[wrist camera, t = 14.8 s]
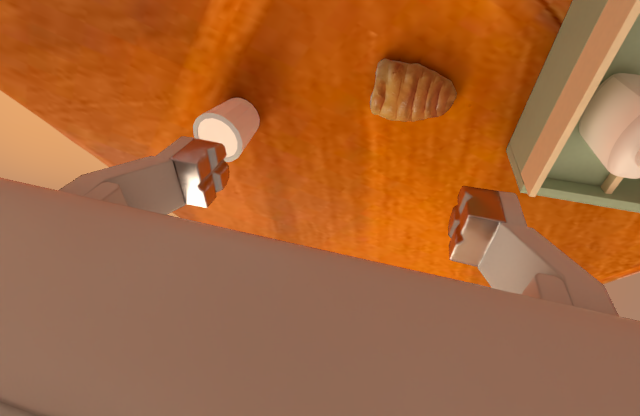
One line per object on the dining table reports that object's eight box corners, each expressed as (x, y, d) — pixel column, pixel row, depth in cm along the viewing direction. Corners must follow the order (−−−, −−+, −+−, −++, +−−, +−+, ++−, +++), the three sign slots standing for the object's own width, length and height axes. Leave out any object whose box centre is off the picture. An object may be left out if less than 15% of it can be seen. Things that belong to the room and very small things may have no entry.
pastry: (463, 65, 36) (466, 76, 33) (445, 123, 40) (446, 137, 37) (377, 54, 37) (372, 64, 35) (369, 111, 42) (364, 124, 39)
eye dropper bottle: (557, 115, 30) (610, 190, 21) (625, 61, 26) (724, 125, 17) (591, 142, 31) (656, 227, 22) (661, 94, 27) (775, 171, 18)
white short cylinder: (273, 120, 46) (252, 143, 41) (246, 147, 50) (224, 171, 45) (235, 82, 44) (209, 101, 39) (210, 113, 48) (183, 134, 43)
